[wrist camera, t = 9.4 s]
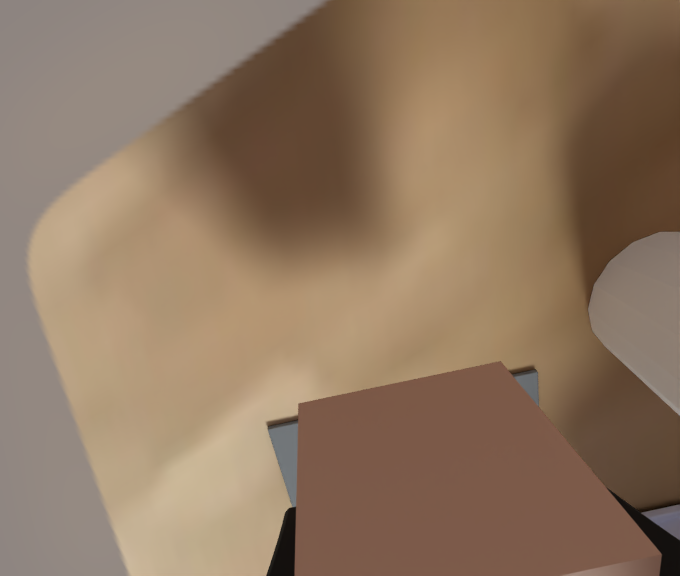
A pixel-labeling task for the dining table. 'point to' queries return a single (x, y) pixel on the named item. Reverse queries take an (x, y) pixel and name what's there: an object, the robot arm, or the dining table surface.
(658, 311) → the white cup
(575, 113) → the dining table surface
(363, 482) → the terracotta block
